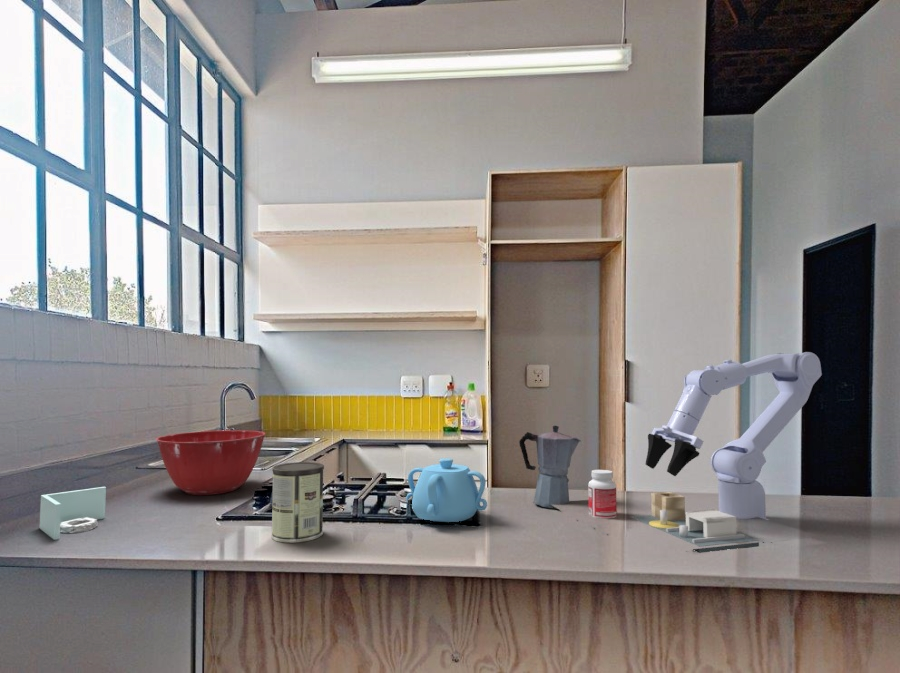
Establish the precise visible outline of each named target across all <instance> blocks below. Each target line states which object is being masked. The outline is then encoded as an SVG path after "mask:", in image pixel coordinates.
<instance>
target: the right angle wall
mask: <svg viewBox="0 0 900 673" xmlns="http://www.w3.org/2000/svg"><path fill="white" fill-rule="evenodd" d="M106 495H107V487H106V486H100V487H91V488H85V489H78V490H77V489H76V490H70V491H62V492H56V493H47V494H41V495H40V507H39V508H40V510H39V529H40V530H41V531H42V532H44V533H45V534H46V535H47V536H48V537H50V538H51V539H52V540H54V541H57V540H60V536H61V535H60V534H75V533H80V534H81V533H83V532H89V531H91V530H93V529H95V528H96V527H98V524H99V522H98V520H103V519H105V518H106V499H107V498H106V497H107V496H106Z"/></svg>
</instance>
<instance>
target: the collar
mask: <svg viewBox="0 0 900 673" xmlns="http://www.w3.org/2000/svg"><path fill="white" fill-rule="evenodd" d="M650 498H651V499H650V500H651V502H650V503H651V505H650V506H651V508H650V509H651V515H652V516H654V517H657V518H659V519H660V510H666V511H667V521H674V520H685V514H686V499H685V498H686V497H685V496H683V495H681V494H678V493H675V492H671V491H665V492H664V491H662V492H651V493H650Z"/></svg>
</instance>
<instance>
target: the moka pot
mask: <svg viewBox="0 0 900 673" xmlns="http://www.w3.org/2000/svg"><path fill="white" fill-rule="evenodd" d="M559 429H560V426H558V425H553V426H552V432H550V431H549V432H544V433H531V432H528V431H527V432H525V434H524V435H523V436H521V439H519V447H520V450H521V453H522V454H521V455H522V457H523V460H524V463H525V464H524V465H525V468H526V469H527V470H532V471H535V470H536V468H537V467H536V466H535V465H531V463H530V461H529V457H528V456H529V455H528V452H527V449H526V448H527V447H526V444H525V442H526V441H527V440H529V441H532V442H536V453H537V454H536V455H537V456H536V457H537V464H538V465H539V466H538V468H537V469H538V472H539V473H538V477H537V481H536V486H535V492H534V498H533V503H534V504H535V505H537V506H538V507H539V506H540V507H543V508H548V509H558V507H555V506H554V505H564V504H569V502H570V492H569V481H570V479H569V477H568V473H569V468H570V467H571V461H572V456H573V454H574V453H575V450H576V448H577V446H578V444H579V443H580V442H581V439H580V438H578V437H576V436H571V435H567V434H564V433H562V432H559Z"/></svg>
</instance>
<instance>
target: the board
mask: <svg viewBox="0 0 900 673" xmlns="http://www.w3.org/2000/svg"><path fill="white" fill-rule="evenodd" d="M630 518H631V519H634V520H637V521H638V522H640V523H643V524H645V525H647V526H650V527H652V528H655V529H657V530H659V531H661V532H664V533H666V534H669V535H671V536H674V537H675V538H679V540H682V541H686V543H687V542H688V543H689V544H692V545H695V546H697V547H701V548H693V550H692V551H694V550H695V551H694V552H696V551H697V553H699V554H700V553H701V554H702V553H710V551H712V552H718V551H719V550H721V551H728V550H727V549H730V550H737V548H738V549H747V548H755V547H760V542H755V541H758V539H757V538H754V537H751V536H748V535H747V534H746V535H745V534H744V533H740V532H737V531H736V535H727V536H717V537H707V538H706V537H704V531H703V530H694V531H688V526H686V513H685V520H674V521H667V511H666V510H660V519H659V518H657V517H654V516H652V514H644V515H634V516H632V515H631V516H630ZM747 542H748V543H747ZM736 543H739V544H736ZM726 544H727V545H726ZM728 544H731V545H728ZM716 545H721V546H716ZM709 546H711V547H709ZM719 552H720V551H719Z"/></svg>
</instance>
